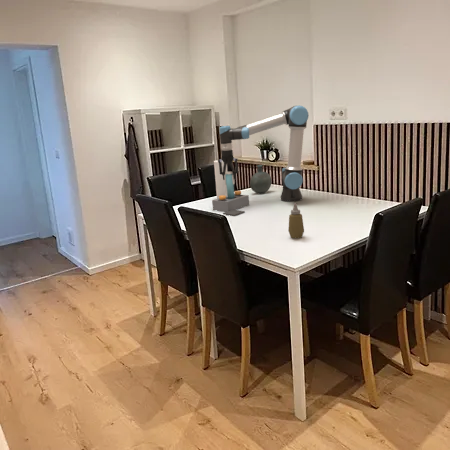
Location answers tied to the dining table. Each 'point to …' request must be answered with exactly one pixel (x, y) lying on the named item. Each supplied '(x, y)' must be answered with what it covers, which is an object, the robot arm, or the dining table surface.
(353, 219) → the dining table surface
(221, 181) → the cylinder container
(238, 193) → the plunger
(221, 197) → the plunger
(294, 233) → the squeeze bottle
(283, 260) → the dining table surface
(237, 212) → the mat
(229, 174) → the block
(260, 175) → the flask
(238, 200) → the block
